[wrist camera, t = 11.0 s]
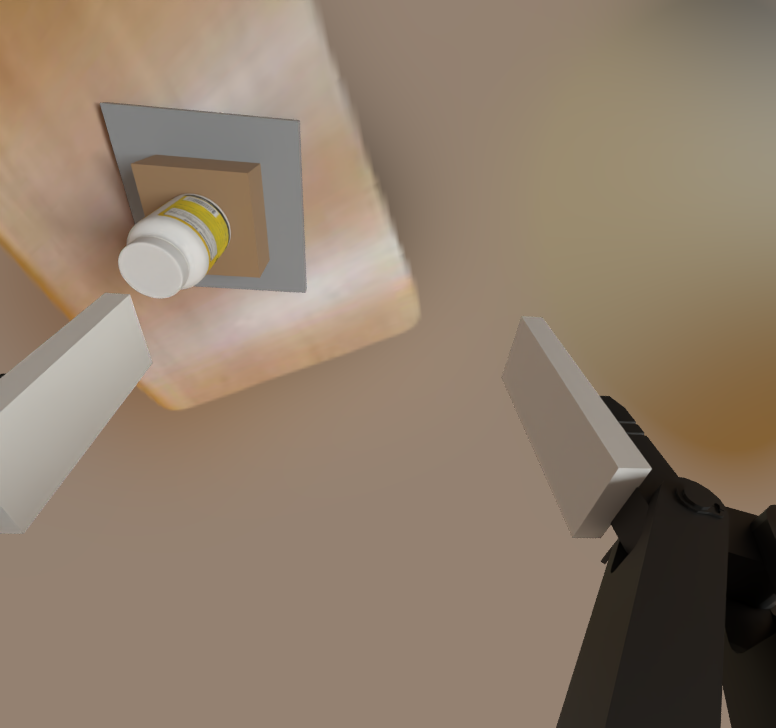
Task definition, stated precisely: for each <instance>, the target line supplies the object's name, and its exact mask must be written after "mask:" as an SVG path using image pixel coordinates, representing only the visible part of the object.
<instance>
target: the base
mask: <svg viewBox="0 0 776 728" xmlns="http://www.w3.org/2000/svg"><path fill="white" fill-rule="evenodd" d="M100 106H101V109H102V113H103V116H104V119H105V123H106V126H107V130H108V133H109V137H110V140H111V144H112V147H113V150H114V154H115V157H116V161H117V164H118V168H119V171H120V174H121V178H122V181H123V185H124V188H125V192H126V195H127V199H128V202H129V205H130V209H131V212H132V216H133V219H134V223H135V224H136V223H137V222H139V221H140V220H141V219H143V218H145V217H146V216H148V215H149V214H151V213H152V212H154V211H155V210H156V209H158V208H159V207H161V206H162V205H164V204H165V203H167V202H168V201H170V200H171V199H173V198H175V197H177V196H179V195H182V194H197V195H201V196H204V197H206V198H208V199H210V200H211V201H213V202H214V203H215V204H217V205H218V206H219V207H220V208H221V210H222V211H223V212H224V214H225V215H226V217H227V219H228V222H229V224H230V230H231V237H230V242H229V244H228V246H227V248H226V249H225V251H224V252H223V253H222V255H221V256H220V257H219V258H218V260H217V261H216V262H215V264H214V265H213V266H212V267H211V269H210V270H209V271H208V273H207V274H206V275H205V277H204V278H203V279H202V280H201V281H200V282H199V283H198V284H196V285H195V286H199V287H216V288H233V289H250V290H268V291H285V292H302V293H305V292H306V289H307V287H306V263H305V238H304V214H303V190H302V166H301V142H300V120H290V119H280V118H269V117H258V116H248V115H237V114H226V113H216V112H205V111H194V110H184V109H173V108H162V107H152V106H141V105H130V104H120V103H109V102H104V103H100Z"/></svg>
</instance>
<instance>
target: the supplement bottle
mask: <svg viewBox="0 0 776 728" xmlns="http://www.w3.org/2000/svg"><path fill="white" fill-rule="evenodd" d="M230 237H231V230H230V224H229V222H228V219H227V217H226V215H225V214H224V212H223V211H222V210H221V208H220V207H219V206H218V205H217V204H215V203H214V202H213V201H211V200H210V199H208V198H206V197H204V196H201V195H197V194H182V195H179V196H177V197H175V198H173V199H171V200H170V201H168V202H167V203H165V204H164V205H162V206H161V207H159V208H158V209H156V210H155V211H154V212H152V213H151V214H149V215H148V216H146V217H145V218H143V219H141V220H140V221H139V222H137V223H136V224H135V225H134V226H133V227H132V229H131V230H130V232H129V234H128V237H127V246H125V247H124V248H123V249H122V251H121V252H120V255H119V259H118V266H119V269H120V272H121V275H122V276H123V278H124V279H125V281H126V282H127V283H128V284H129V285H130V286H131V287H132V288H133V289H135V290H136V291H138V292H139V293H141V294H143V295H146V296H149V297H152V298H168V297H171V296H173V295H175V294H176V293H177V292H178V291H179V290H182V289H187V288H190V287H193V286H195V285H196V284H198V283H199V282H200V281H201V280H202V279H203V278H204V277H205V275H206V274H207V273H208V271H209V270H210V269H211V267H212V266H213V265H214V264H215V262H216V261H217V260H218V258H219V257H220V256H221V255H222V253H223V252H224V251H225V249H226V248H227V246H228V244H229V242H230Z"/></svg>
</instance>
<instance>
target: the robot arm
mask: <svg viewBox="0 0 776 728" xmlns="http://www.w3.org/2000/svg"><path fill="white" fill-rule="evenodd" d="M151 364H152V360H151V357H150V354H149V351H148V348H147V345H146V342H145V339H144V336H143V333H142V329H141V326H140V323H139V320H138V317H137V314H136V311H135V308H134V305H133V302H132V299H131V296H130V294H115V293H104V294H103V295H102V296H101V297H99V298H98V299H97V300H96V301H94V302H93V303H92V304H91V305H90V306H88V307H87V308H86V309H85V310H83V311H82V312H81V313H80V314H79V315H77V316H76V317H75V318H74V319H72V320H71V321H70V322H69V323H68V324H66V325H65V326H64V327H63V328H61V329H60V330H59V331H58V332H57V333H55V334H54V335H53V336H52V337H50V338H49V339H48V340H47V341H46V342H44V343H43V344H42V345H41V346H39V347H38V348H37V349H36V350H35V351H33V352H32V353H31V354H30V355H28V356H27V357H26V358H25V359H24V360H23V361H21V362H20V363H19V364H17V365H16V366H15V367H14V368H13V369H11V370H10V371H9V372H8V373H6V374H0V533H10V534H12V533H14V534H16V533H17V534H19V533H20V534H23V533H25V531H26V530H27V529H28V527H29V526H30V525H31V523H32V522H33V521H34V519H35V518H36V517H37V515H38V514H39V513H40V511H41V510H42V509H43V508H44V506H45V504H46V503H47V502H48V501H49V500H50V498H51V497H52V496H53V494H54V493H55V492H56V490H57V489H58V487H59V486H60V485H61V484H62V482H63V481H64V479H65V478H66V477H67V476H68V474H69V473H70V472H71V470H72V469H73V468H74V466H75V465H76V464H77V462H78V461H79V460H80V459H81V457H82V456H83V455H84V453H85V452H86V450H87V449H88V448H89V447H90V445H91V444H92V443H93V441H94V440H95V439H96V437H97V436H98V435H99V433H100V432H101V431H102V429H103V428H104V427H105V425H106V424H107V423H108V421H109V420H110V419H111V417H112V416H113V415H114V413H115V412H116V411H117V409H118V408H119V407H120V405H121V404H122V403H123V401H124V400H125V399H126V398H127V396H128V395H129V394H130V392H131V391H132V390H133V388H134V387H135V386H136V384H137V383H138V382H139V380H140V379H141V378H142V376H143V375H144V374H145V372H146V371H147V370H148V368H149V367H150V366H151ZM502 380H503V382H504V384H505V387H506V389H507V391H508V393H509V396H510V398H511V400H512V403H513V405H514V407H515V409H516V411H517V414H518V416H519V418H520V421H521V423H522V425H523V427H524V430H525V432H526V434H527V436H528V439H529V441H530V443H531V445H532V447H533V450H534V452H535V454H536V457H537V459H538V461H539V463H540V466H541V468H542V470H543V472H544V475H545V477H546V479H547V481H548V483H549V486H550V488H551V490H552V493H553V495H554V497H555V499H556V502H557V504H558V506H559V508H560V510H561V513H562V515H563V518H564V520H565V522H566V524H567V527H568V529H569V531H570V533H571V535H572V538H601V537H602V536H603V535H604V533H605V532H606V531H607V529H608V528H609V526H610V525H612V527H613V529H614V531H615V532H616V534H617V536H618V540H617V541H616V542H615V543H614V545H613V546H612V547H611V548H610V550H609V551H608V552H607V553H606V555H605V556H604V557H603V559H602V560H601V562H602V563H604V564H606V562H607V561H608V563H607V567H606V570H605V573H604V576H603V579H602V582H601V586H600V589H599V592H598V595H597V598H596V602H595V605H594V608H593V611H592V615H591V618H590V621H589V624H588V628H587V630H586V634H585V637H584V640H583V643H582V647H581V650H580V653H579V656H578V660H577V663H576V666H575V669H574V672H573V675H572V679H571V682H570V685H569V688H568V691H567V695H566V698H565V701H564V704H563V707H562V711H561V714H560V717H559V720H558V723H557V727H556V728H720V726H721V704H722V703H721V702H722V685H723V690H724V694H725V699H726V703H727V708H728V713H729V718H730V723H731V727H732V728H776V505H770V506H769V507H768V508H767V509H766V510H765V511H764V512H763V513H762V514H760V515H759V516H757V515H754V514H750V513H747V512H743V511H739V510H736V509H732V508H729V507H725V506H724V504H723V503H722V502H721V500H720V499H719V498H718V497H717V496H716V495H714V494H713V493H712V492H711V491H710V490H708V489H707V488H705V487H704V486H702V485H700V484H699V483H697V482H694V481H691V480H689V479H686V478H682V477H678V476H677V474H676V473H675V472H674V471H673V469H672V468H671V467H670V465H669V464H668V463H667V461H666V460H665V459H664V458H663V456H662V455H661V454H660V453H659V451H658V450H657V449H656V447H655V446H654V445H653V444H652V442H651V441H650V440H649V438H648V437H647V436H644V432H643V431H642V429H641V428H640V427H639V426H638V425H637V424H636V422H635V420H634V419H633V418H632V416H631V415H630V414H629V413H628V411H627V410H626V409H625V408H624V407H623V406H622V405H620V404H619V403H618V402H616V401H615V400H614V399H612V398H611V397H610V396H599V395H598V393H597V392H596V391H595V389H594V388H593V386H592V385H591V384H590V382H589V381H588V380H587V378H586V377H585V375H584V374H583V373H582V371H581V370H580V369H579V367H578V366H577V364H576V363H575V362H574V360H573V359H572V358H571V356H570V355H569V353H568V352H567V351H566V349H565V348H564V346H563V345H562V344H561V342H560V341H559V340H558V338H557V337H556V335H555V334H554V333H553V331H552V330H551V329H550V327H549V326H548V324H547V323H546V322H545V320H544V319H543V318H542V317H525V316H522V317H521V319H520V322H519V325H518V328H517V332H516V335H515V338H514V341H513V344H512V347H511V350H510V353H509V356H508V360H507V363H506V365H505V369H504V372H503V375H502Z"/></svg>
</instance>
